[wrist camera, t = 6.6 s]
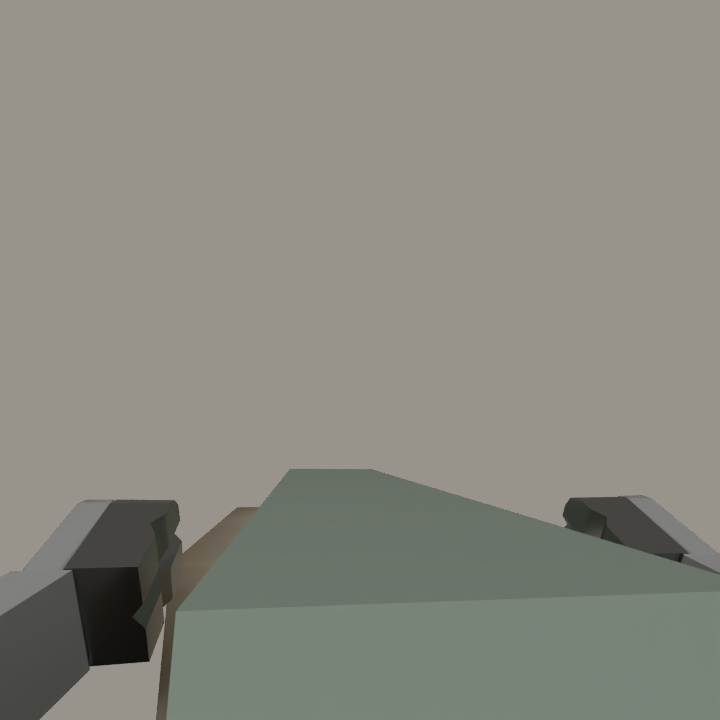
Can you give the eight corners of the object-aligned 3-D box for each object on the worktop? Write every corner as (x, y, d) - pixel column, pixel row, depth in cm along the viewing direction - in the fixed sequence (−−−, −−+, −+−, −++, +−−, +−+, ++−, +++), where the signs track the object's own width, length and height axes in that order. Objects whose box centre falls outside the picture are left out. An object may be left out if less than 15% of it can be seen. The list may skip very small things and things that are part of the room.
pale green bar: (371, 499, 23) (371, 469, 24) (812, 834, 3) (769, 589, 3) (288, 499, 23) (290, 469, 23) (151, 909, 2) (175, 610, 3)
